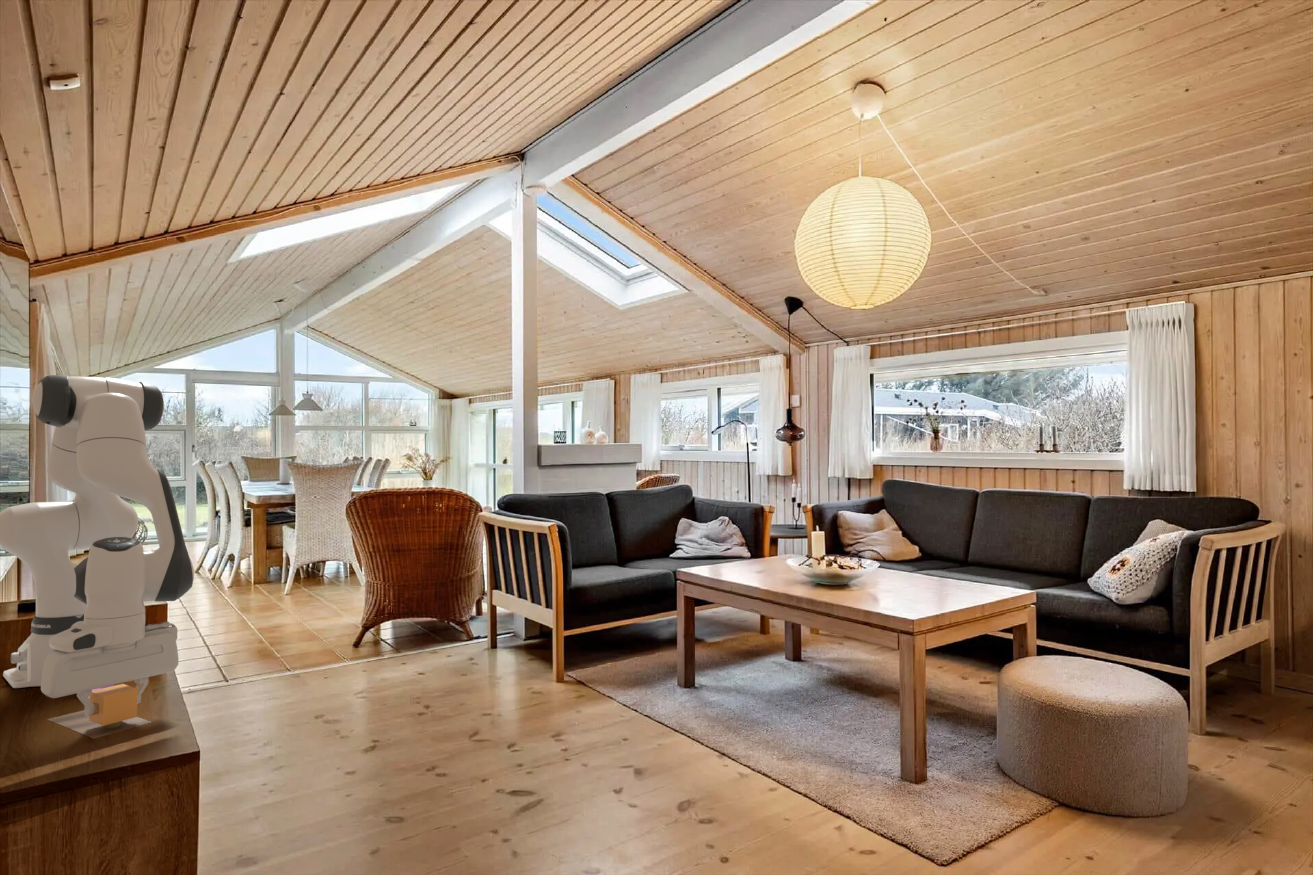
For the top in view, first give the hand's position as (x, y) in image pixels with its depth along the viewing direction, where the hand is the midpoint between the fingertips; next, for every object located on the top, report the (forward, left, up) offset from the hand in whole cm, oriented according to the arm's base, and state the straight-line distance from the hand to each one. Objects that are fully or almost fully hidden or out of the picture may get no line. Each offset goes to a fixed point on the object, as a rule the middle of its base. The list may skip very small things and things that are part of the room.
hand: (113, 709), depth 132 cm
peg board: (-5, 0, -4) cm, 6 cm away
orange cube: (0, 0, -2) cm, 2 cm away
